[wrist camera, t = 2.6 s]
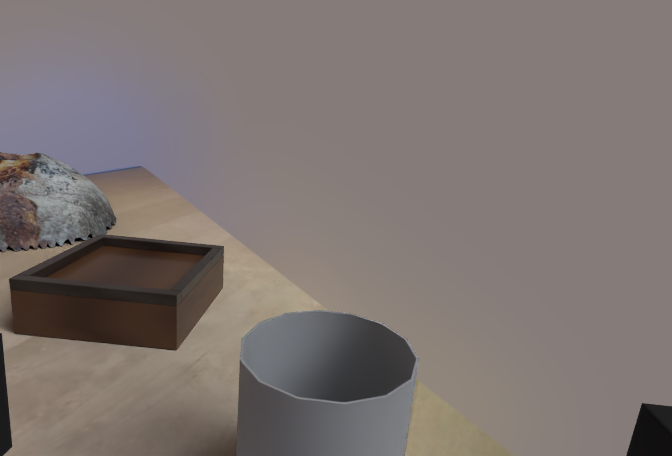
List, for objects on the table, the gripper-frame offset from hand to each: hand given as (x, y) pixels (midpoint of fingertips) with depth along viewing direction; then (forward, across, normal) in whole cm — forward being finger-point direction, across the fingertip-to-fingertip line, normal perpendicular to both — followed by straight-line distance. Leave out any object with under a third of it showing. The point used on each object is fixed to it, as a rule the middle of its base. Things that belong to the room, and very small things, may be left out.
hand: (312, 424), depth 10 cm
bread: (+59, -50, -15) cm, 78 cm away
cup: (+12, 0, -15) cm, 19 cm away
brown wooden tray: (+34, -20, -15) cm, 42 cm away
